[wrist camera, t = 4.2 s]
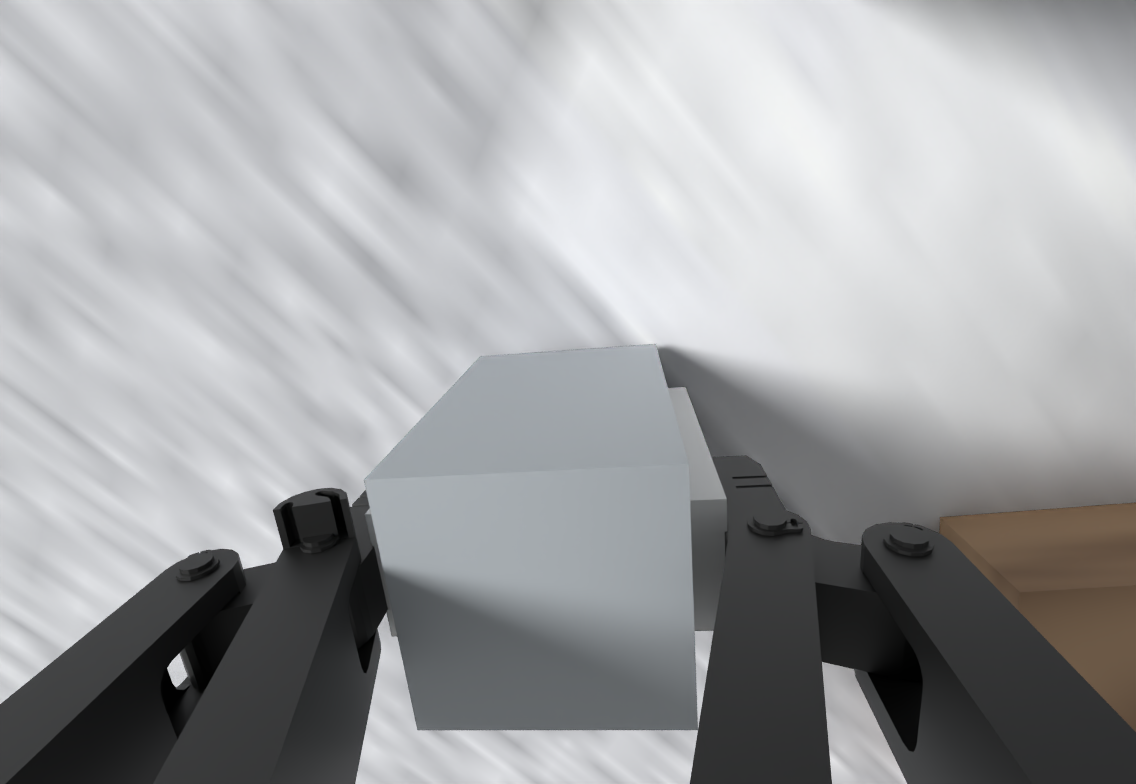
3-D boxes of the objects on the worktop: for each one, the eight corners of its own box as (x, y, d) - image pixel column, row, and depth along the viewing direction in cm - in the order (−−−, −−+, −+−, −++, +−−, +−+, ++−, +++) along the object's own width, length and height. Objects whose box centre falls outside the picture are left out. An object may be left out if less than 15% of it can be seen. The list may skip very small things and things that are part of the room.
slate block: (480, 356, 17) (364, 480, 9) (655, 343, 16) (689, 464, 8) (502, 511, 18) (417, 730, 10) (663, 505, 18) (698, 730, 10)
